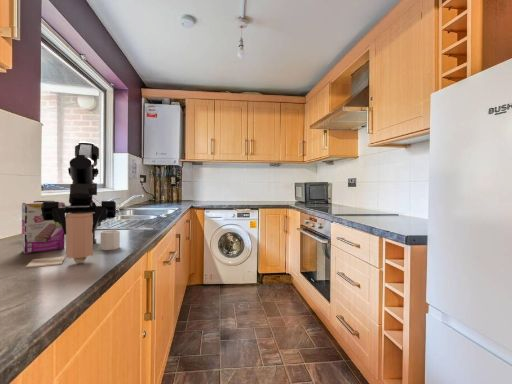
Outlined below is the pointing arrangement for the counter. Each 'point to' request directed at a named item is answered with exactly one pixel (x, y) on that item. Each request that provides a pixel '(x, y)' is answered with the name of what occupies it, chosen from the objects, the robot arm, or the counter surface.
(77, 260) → the wooden ball
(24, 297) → the counter surface
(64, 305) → the counter surface
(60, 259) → the coaster
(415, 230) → the counter surface
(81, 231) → the brown rounded shape
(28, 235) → the candy bar box
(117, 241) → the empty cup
